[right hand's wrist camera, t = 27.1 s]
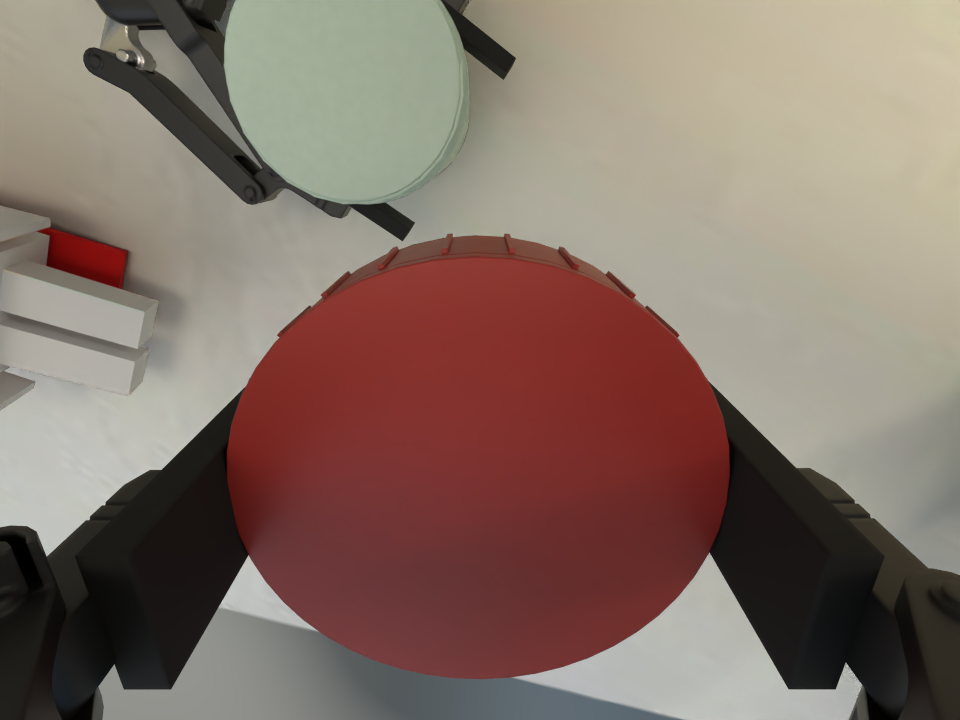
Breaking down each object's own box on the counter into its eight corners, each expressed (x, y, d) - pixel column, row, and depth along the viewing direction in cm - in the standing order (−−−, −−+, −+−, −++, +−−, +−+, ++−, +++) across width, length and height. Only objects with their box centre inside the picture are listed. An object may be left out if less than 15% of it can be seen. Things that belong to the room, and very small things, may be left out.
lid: (777, 404, 12) (845, 462, 10) (513, 651, 15) (519, 738, 13) (425, 125, 10) (410, 116, 8) (197, 479, 13) (138, 547, 11)
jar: (336, 185, 34) (240, 212, 20) (318, 28, 31) (187, -76, 17) (471, 183, 34) (471, 208, 20) (468, 26, 31) (465, -80, 17)
